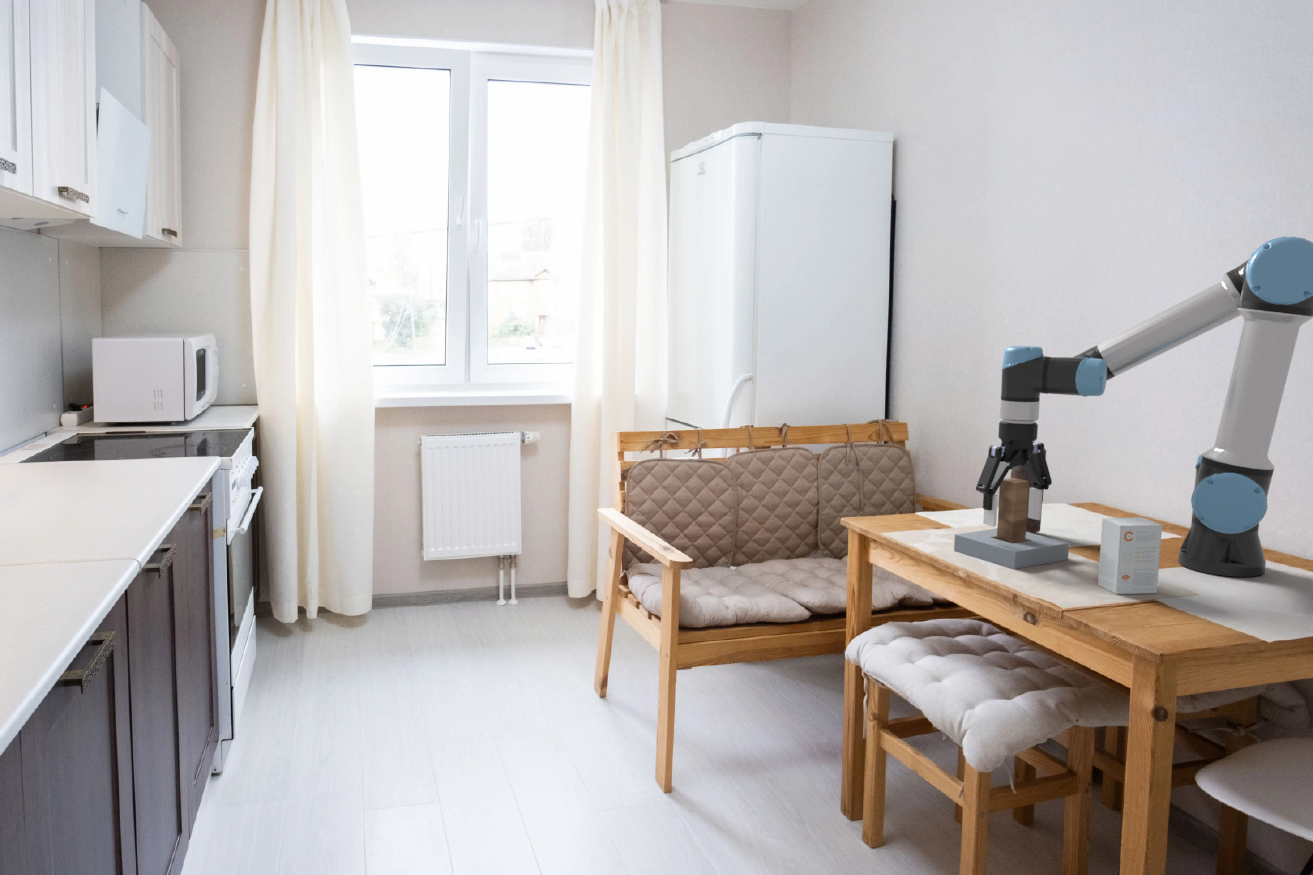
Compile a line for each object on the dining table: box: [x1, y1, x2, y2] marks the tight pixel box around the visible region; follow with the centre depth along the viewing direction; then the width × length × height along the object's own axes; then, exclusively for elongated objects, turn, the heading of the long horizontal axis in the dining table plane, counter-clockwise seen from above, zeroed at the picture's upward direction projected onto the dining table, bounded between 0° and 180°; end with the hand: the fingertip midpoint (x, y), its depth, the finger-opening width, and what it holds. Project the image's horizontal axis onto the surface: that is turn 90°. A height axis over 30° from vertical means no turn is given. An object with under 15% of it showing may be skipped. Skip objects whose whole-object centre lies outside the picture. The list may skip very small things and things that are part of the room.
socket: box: [953, 528, 1070, 570], centre depth 198 cm, size 16×16×4 cm
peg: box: [996, 477, 1029, 544], centre depth 198 cm, size 4×4×16 cm
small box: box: [1097, 517, 1163, 595], centre depth 174 cm, size 8×6×13 cm
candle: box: [1010, 448, 1047, 534], centre depth 216 cm, size 8×7×20 cm
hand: (1012, 522), depth 198 cm, fingers open, 13 cm apart
